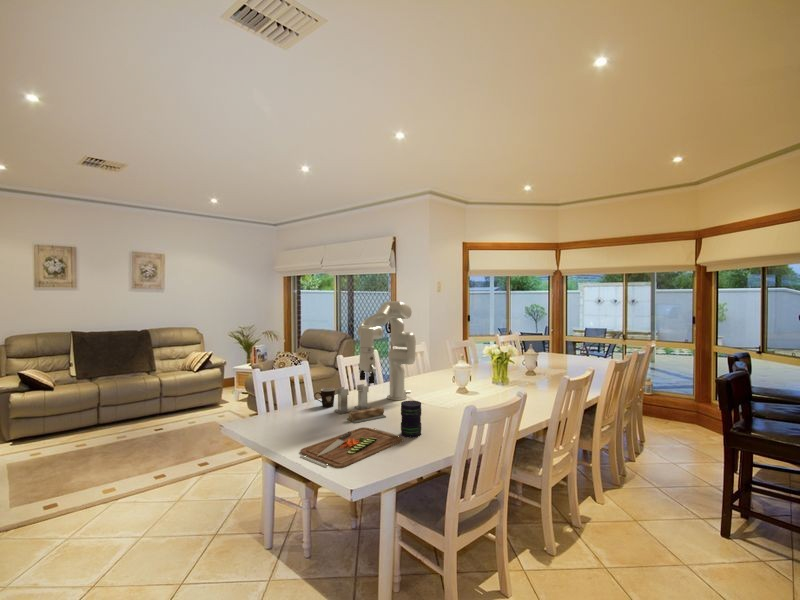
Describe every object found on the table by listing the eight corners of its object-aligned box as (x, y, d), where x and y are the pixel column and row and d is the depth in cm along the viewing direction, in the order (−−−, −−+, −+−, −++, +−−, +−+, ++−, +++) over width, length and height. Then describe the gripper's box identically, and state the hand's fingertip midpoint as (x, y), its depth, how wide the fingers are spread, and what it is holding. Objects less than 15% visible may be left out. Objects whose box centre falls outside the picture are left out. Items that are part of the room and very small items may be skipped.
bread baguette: (380, 412, 228) (380, 406, 228) (384, 414, 225) (384, 408, 225) (348, 419, 217) (348, 412, 217) (351, 421, 214) (351, 414, 214)
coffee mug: (336, 404, 248) (336, 388, 247) (333, 408, 239) (333, 391, 239) (318, 404, 249) (318, 387, 248) (313, 407, 240) (313, 391, 240)
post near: (345, 409, 237) (345, 386, 237) (351, 412, 232) (351, 388, 231) (334, 411, 233) (334, 388, 233) (339, 414, 228) (339, 390, 227)
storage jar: (397, 436, 193) (397, 404, 192) (404, 429, 202) (404, 399, 202) (417, 439, 189) (417, 406, 189) (424, 432, 198) (424, 401, 198)
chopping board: (335, 473, 154) (335, 464, 154) (292, 455, 171) (292, 448, 171) (408, 440, 189) (408, 433, 189) (366, 428, 206) (366, 421, 206)
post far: (365, 405, 245) (365, 383, 244) (370, 408, 239) (370, 386, 239) (354, 407, 241) (354, 385, 241) (360, 410, 235) (360, 387, 235)
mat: (377, 413, 230) (377, 412, 230) (386, 417, 222) (386, 416, 222) (347, 418, 219) (347, 417, 219) (355, 423, 212) (355, 422, 212)
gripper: (381, 351, 215) (381, 383, 216) (365, 347, 229) (365, 377, 230) (368, 352, 211) (368, 385, 211) (353, 348, 225) (353, 379, 226)
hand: (366, 381), depth 221 cm, fingers open, 9 cm apart
